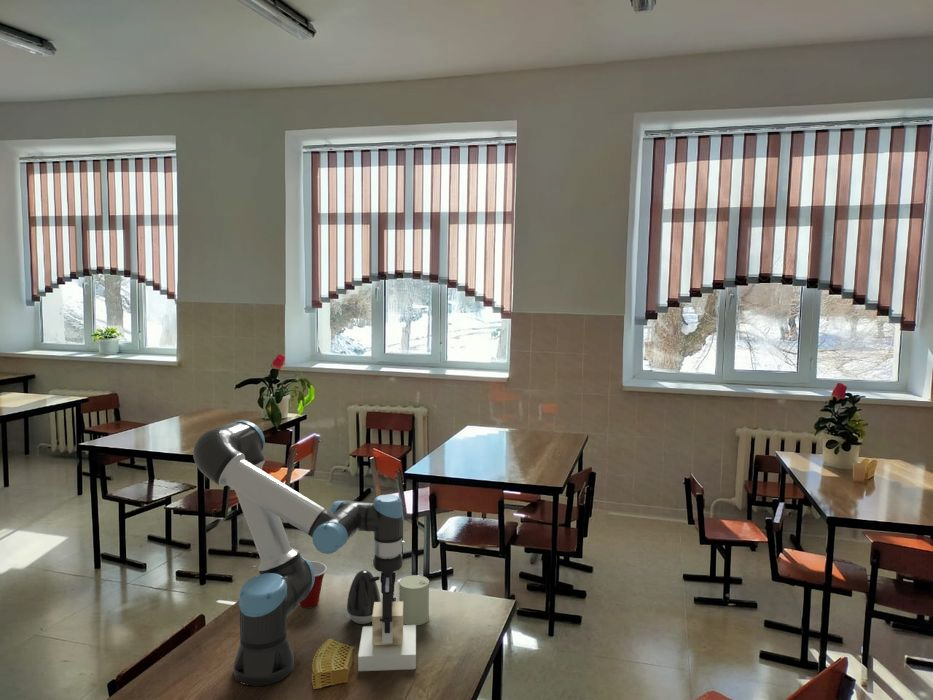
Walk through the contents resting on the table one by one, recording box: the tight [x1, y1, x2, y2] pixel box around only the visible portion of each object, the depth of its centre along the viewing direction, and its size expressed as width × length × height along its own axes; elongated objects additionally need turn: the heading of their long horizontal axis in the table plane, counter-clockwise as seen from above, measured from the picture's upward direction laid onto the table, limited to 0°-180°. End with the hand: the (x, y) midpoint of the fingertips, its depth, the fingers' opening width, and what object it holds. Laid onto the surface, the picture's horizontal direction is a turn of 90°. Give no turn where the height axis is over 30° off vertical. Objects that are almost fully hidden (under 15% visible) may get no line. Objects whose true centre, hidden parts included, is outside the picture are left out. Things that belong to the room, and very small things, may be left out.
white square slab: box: [357, 624, 417, 672], centre depth 174 cm, size 15×15×4 cm
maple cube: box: [371, 600, 404, 645], centre depth 173 cm, size 8×8×8 cm
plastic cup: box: [299, 560, 328, 609], centre depth 201 cm, size 11×11×12 cm
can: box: [398, 574, 430, 627], centre depth 193 cm, size 9×9×12 cm
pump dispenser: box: [346, 569, 382, 625], centre depth 191 cm, size 10×10×15 cm
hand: (388, 634), depth 173 cm, fingers closed on maple cube, 8 cm apart
